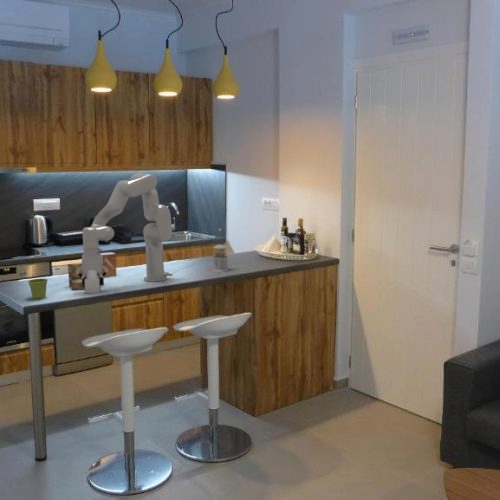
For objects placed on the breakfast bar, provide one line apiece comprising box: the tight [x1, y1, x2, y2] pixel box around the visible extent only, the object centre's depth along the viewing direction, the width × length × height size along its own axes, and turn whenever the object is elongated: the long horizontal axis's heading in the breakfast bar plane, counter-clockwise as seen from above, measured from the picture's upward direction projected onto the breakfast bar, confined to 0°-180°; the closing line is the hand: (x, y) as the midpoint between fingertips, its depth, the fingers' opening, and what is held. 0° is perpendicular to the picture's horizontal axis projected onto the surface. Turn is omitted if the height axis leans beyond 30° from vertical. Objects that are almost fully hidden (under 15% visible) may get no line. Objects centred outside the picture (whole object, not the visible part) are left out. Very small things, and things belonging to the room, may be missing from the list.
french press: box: [212, 228, 229, 272], centre depth 369 cm, size 10×12×25 cm
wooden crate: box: [67, 263, 105, 291], centre depth 327 cm, size 18×10×12 cm, turn 102°
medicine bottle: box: [84, 270, 102, 294], centre depth 317 cm, size 7×7×12 cm
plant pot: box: [27, 278, 49, 300], centre depth 306 cm, size 9×9×9 cm
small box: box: [99, 251, 117, 278], centre depth 357 cm, size 8×6×13 cm
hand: (92, 285), depth 317 cm, fingers closed on medicine bottle, 7 cm apart
